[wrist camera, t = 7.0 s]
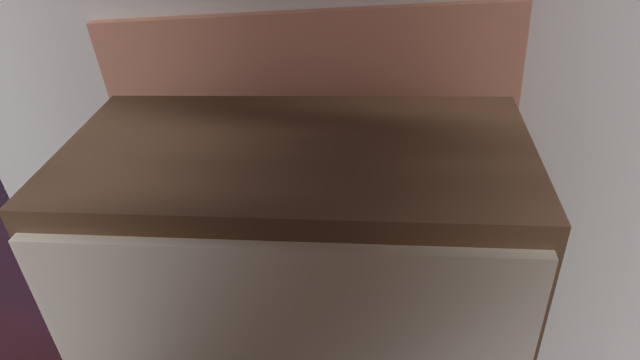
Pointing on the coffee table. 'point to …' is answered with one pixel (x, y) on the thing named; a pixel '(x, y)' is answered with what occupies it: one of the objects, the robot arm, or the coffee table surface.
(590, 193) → the mat
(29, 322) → the coffee table surface
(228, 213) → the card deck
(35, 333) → the coffee table surface
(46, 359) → the coffee table surface
